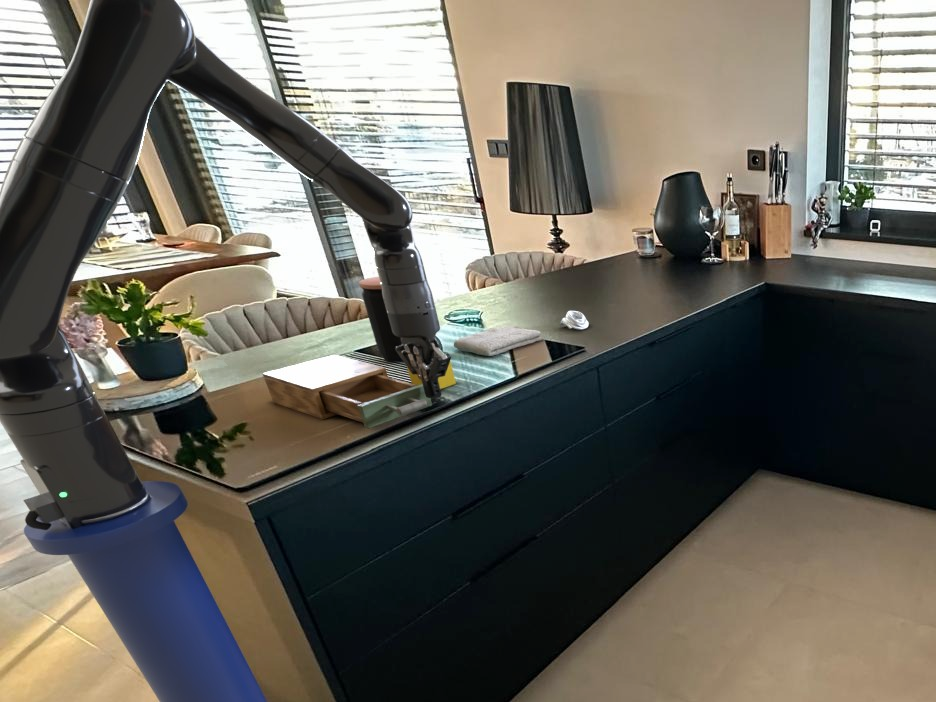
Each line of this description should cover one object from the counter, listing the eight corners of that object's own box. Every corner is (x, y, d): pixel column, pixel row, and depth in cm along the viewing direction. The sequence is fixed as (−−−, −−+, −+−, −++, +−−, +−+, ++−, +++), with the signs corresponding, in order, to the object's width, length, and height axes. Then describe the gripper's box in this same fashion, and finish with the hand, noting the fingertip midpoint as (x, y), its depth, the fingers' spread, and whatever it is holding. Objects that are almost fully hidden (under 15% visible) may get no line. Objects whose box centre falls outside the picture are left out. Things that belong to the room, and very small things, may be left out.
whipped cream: (577, 325, 179) (574, 308, 177) (595, 326, 176) (593, 309, 175) (556, 330, 172) (553, 312, 171) (575, 331, 170) (572, 313, 168)
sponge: (426, 394, 128) (417, 361, 125) (413, 390, 130) (404, 358, 127) (456, 383, 134) (448, 352, 131) (443, 380, 136) (435, 349, 132)
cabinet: (393, 395, 127) (385, 367, 125) (323, 419, 116) (312, 389, 114) (344, 381, 134) (335, 354, 131) (273, 402, 123) (262, 373, 120)
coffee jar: (442, 351, 153) (423, 277, 145) (407, 365, 144) (386, 286, 136) (406, 347, 155) (385, 274, 147) (369, 360, 146) (346, 283, 138)
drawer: (448, 409, 119) (443, 389, 117) (385, 434, 109) (378, 411, 108) (382, 390, 127) (376, 370, 125) (317, 411, 117) (310, 390, 115)
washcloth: (545, 339, 163) (543, 328, 162) (489, 359, 149) (486, 346, 147) (511, 333, 168) (509, 322, 166) (454, 351, 153) (451, 339, 152)
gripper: (366, 306, 110) (393, 397, 118) (414, 316, 105) (439, 410, 113) (407, 297, 116) (429, 384, 124) (454, 307, 111) (475, 397, 119)
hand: (434, 397), depth 118 cm, fingers closed
